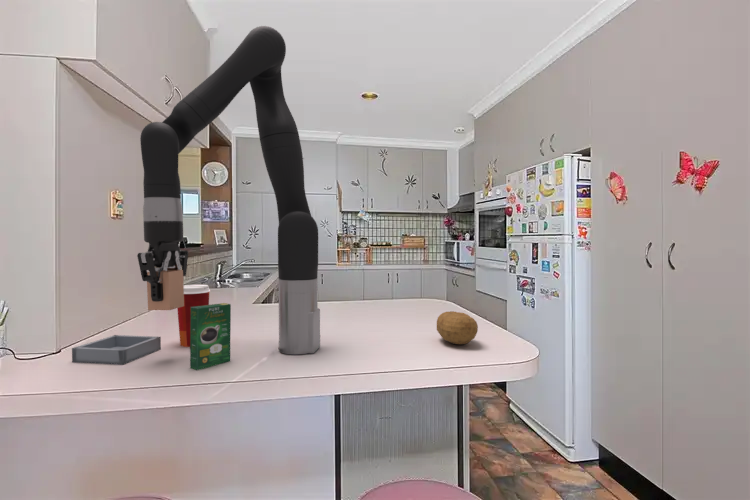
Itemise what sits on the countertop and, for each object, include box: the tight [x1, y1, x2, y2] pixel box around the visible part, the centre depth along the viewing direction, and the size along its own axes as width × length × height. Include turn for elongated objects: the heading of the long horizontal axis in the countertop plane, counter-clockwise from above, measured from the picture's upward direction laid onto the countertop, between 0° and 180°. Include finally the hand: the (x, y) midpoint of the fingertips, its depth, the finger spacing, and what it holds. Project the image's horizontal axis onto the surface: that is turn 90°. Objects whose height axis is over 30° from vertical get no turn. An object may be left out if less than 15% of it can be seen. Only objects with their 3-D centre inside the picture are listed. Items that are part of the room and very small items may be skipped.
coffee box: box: [189, 302, 232, 371], centre depth 86 cm, size 8×3×13 cm, turn 144°
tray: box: [71, 334, 162, 366], centre depth 93 cm, size 12×12×4 cm
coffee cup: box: [176, 284, 212, 348], centre depth 103 cm, size 8×8×15 cm
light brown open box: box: [146, 269, 184, 311], centre depth 88 cm, size 5×5×8 cm
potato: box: [436, 310, 479, 345], centre depth 106 cm, size 10×14×8 cm
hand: (166, 298), depth 88 cm, fingers closed on light brown open box, 5 cm apart
